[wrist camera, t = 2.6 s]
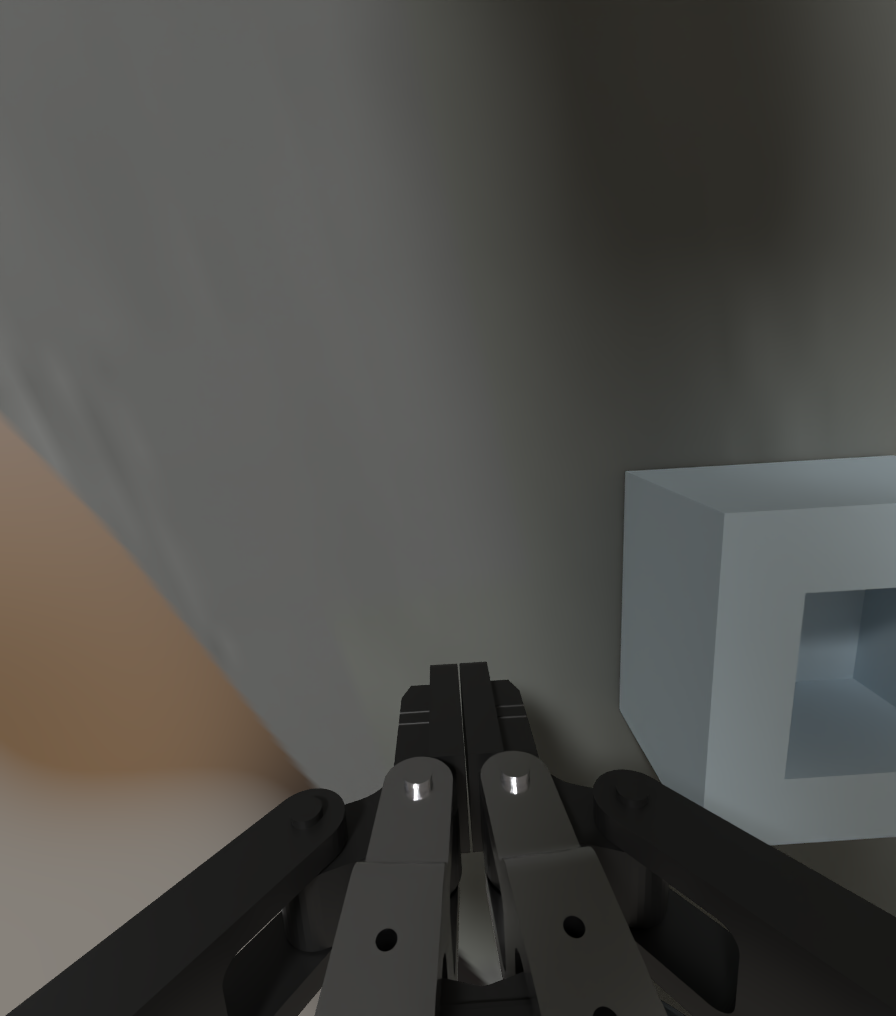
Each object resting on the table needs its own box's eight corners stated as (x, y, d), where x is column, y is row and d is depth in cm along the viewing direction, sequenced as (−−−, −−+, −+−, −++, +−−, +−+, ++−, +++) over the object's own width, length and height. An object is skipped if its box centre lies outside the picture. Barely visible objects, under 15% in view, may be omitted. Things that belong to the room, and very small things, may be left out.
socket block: (625, 471, 17) (724, 513, 11) (892, 455, 17) (1129, 488, 11) (619, 709, 19) (700, 850, 13) (857, 694, 19) (1042, 826, 13)
